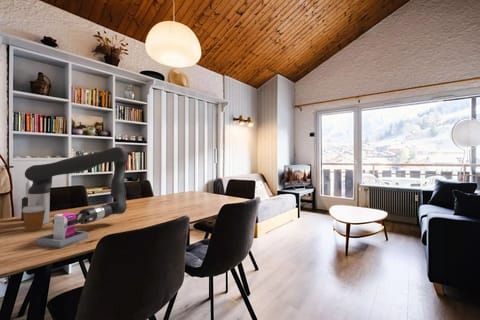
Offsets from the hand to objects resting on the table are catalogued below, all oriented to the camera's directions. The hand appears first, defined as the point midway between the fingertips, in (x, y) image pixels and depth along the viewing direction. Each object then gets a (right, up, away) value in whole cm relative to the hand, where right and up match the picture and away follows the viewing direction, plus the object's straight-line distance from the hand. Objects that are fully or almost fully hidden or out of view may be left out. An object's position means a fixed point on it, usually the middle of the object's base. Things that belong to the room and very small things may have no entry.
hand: (60, 222), depth 102 cm
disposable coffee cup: (-27, -9, +17) cm, 33 cm away
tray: (0, -9, +2) cm, 9 cm away
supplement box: (0, -8, +2) cm, 8 cm away
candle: (-47, -8, +35) cm, 59 cm away
